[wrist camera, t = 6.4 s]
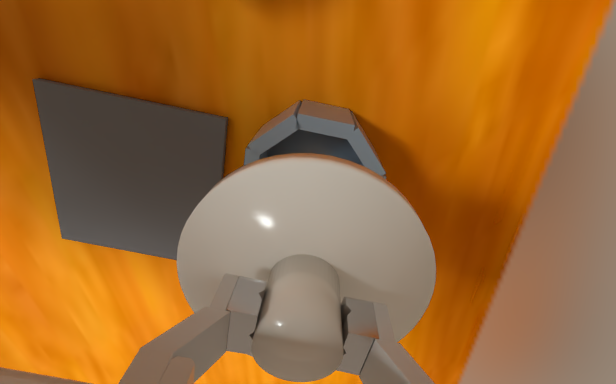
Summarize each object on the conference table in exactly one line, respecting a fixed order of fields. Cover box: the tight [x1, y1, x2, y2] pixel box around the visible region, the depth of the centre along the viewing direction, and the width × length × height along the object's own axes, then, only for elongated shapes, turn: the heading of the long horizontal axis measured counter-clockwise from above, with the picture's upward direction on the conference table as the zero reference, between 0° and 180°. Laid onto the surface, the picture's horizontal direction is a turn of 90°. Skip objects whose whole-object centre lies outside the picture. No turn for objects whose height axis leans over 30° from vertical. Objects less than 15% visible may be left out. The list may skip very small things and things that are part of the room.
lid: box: [177, 153, 436, 382], centre depth 11 cm, size 10×10×4 cm
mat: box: [33, 78, 228, 260], centre depth 26 cm, size 14×14×1 cm
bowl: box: [244, 99, 386, 179], centre depth 22 cm, size 9×9×5 cm
